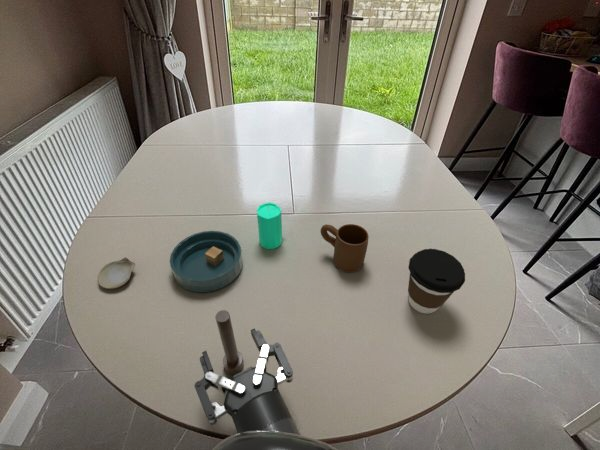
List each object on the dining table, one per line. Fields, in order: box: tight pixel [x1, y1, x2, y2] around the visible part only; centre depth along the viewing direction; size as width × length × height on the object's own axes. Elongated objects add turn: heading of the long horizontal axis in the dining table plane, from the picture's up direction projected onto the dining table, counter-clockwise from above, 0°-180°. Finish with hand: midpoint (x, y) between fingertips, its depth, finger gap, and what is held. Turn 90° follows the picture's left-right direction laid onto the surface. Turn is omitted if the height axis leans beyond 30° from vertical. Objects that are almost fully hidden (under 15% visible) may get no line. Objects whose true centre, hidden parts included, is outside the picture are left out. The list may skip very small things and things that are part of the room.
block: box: [205, 246, 224, 266], centre depth 81 cm, size 3×3×3 cm
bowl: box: [169, 230, 244, 293], centre depth 79 cm, size 16×16×4 cm
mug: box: [320, 223, 370, 273], centre depth 81 cm, size 12×8×9 cm, turn 59°
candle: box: [256, 201, 283, 250], centre depth 84 cm, size 6×6×12 cm
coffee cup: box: [407, 248, 466, 315], centre depth 70 cm, size 11×11×12 cm
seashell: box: [97, 256, 136, 290], centre depth 77 cm, size 8×3×8 cm
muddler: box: [215, 309, 245, 375], centre depth 57 cm, size 4×4×16 cm
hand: (229, 342), depth 56 cm, fingers open, 8 cm apart
